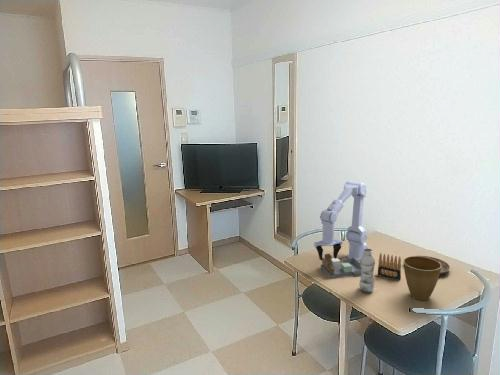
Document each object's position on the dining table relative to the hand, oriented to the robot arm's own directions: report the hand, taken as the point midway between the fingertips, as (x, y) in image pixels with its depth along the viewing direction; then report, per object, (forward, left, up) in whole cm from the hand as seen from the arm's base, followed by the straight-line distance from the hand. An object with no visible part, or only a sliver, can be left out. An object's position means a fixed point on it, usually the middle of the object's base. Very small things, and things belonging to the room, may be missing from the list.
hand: (327, 258), depth 176 cm
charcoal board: (-5, 0, -8) cm, 9 cm away
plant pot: (-30, +31, -8) cm, 44 cm away
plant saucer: (-50, +9, -8) cm, 52 cm away
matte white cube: (-6, -4, -6) cm, 9 cm away
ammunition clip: (-27, +12, -8) cm, 31 cm away
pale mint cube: (-9, +3, -6) cm, 11 cm away
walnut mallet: (0, 0, -6) cm, 6 cm away
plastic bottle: (-10, +21, -8) cm, 25 cm away
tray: (-15, 0, -8) cm, 17 cm away
